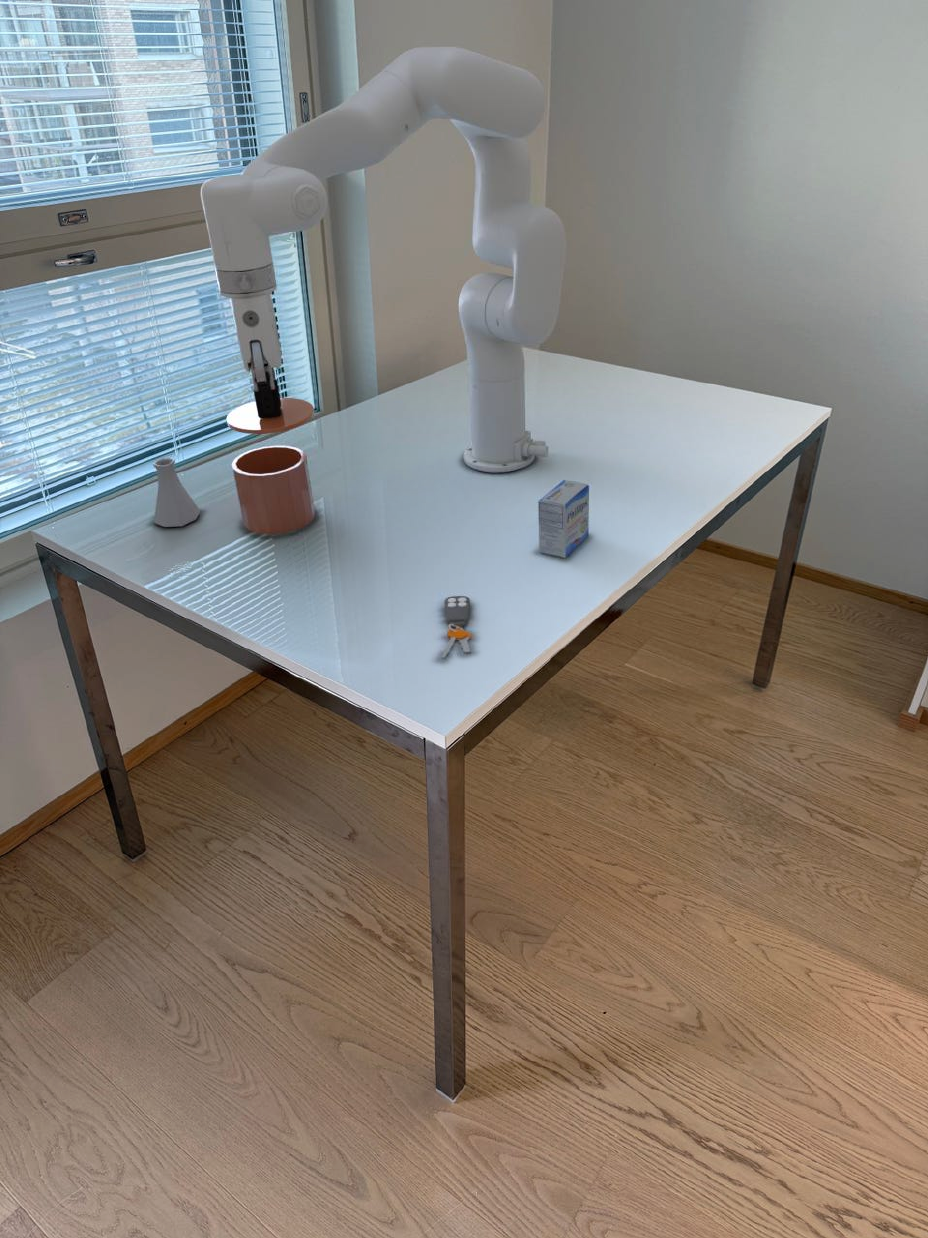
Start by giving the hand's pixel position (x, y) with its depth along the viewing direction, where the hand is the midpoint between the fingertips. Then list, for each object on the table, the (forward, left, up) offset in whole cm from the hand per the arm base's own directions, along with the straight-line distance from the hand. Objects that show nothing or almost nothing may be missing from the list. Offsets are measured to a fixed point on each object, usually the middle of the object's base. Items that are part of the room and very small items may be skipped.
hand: (270, 411), depth 135 cm
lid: (0, 0, -1) cm, 1 cm away
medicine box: (-40, -10, -21) cm, 47 cm away
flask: (+23, -1, -21) cm, 31 cm away
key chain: (-34, +15, -21) cm, 43 cm away
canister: (+6, -5, -21) cm, 22 cm away
